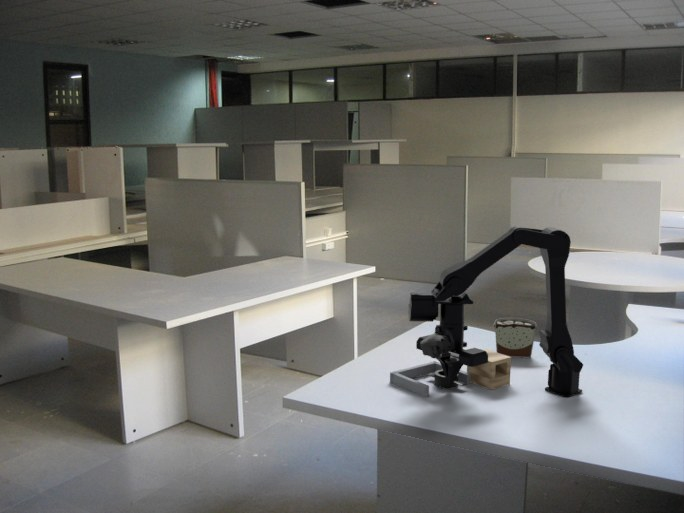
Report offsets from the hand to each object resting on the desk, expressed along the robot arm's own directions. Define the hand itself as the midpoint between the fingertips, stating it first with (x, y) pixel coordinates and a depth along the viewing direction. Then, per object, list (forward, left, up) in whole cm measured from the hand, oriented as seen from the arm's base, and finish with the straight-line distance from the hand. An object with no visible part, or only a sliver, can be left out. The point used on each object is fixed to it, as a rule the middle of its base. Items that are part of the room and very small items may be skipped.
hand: (450, 384), depth 169 cm
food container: (+10, -36, -2) cm, 38 cm away
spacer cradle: (+7, 0, -2) cm, 7 cm away
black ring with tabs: (+4, -2, -2) cm, 5 cm away
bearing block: (-2, -12, -2) cm, 12 cm away
